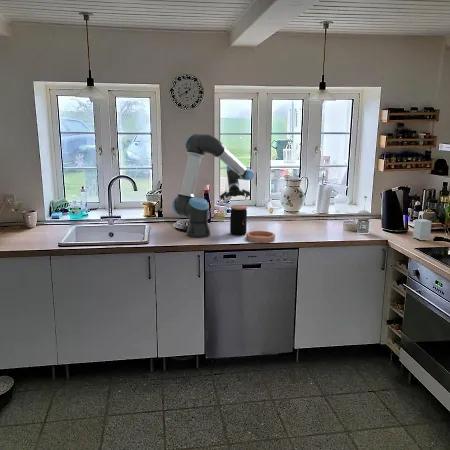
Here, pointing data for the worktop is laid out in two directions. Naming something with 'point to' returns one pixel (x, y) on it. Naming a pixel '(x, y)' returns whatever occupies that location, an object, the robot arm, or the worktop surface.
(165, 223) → the worktop surface
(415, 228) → the supplement box
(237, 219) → the coffee jar
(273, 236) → the round tray
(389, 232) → the worktop surface
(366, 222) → the french press
